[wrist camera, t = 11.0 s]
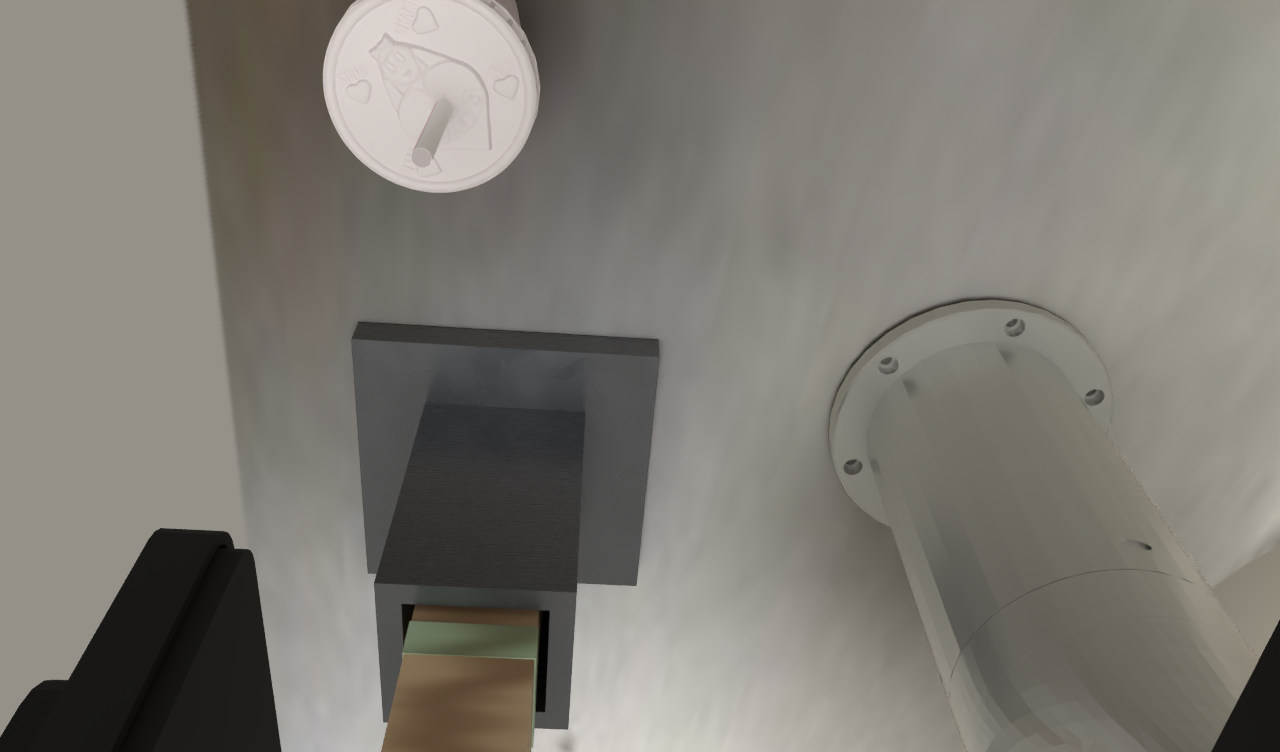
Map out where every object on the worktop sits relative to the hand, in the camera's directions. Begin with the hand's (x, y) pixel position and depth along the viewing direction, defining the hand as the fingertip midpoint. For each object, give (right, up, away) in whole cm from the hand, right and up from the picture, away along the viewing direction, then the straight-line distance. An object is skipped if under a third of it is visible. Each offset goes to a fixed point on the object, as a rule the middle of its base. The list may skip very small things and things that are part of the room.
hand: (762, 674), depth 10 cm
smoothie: (-7, +16, +30) cm, 35 cm away
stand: (-7, -1, +41) cm, 41 cm away
